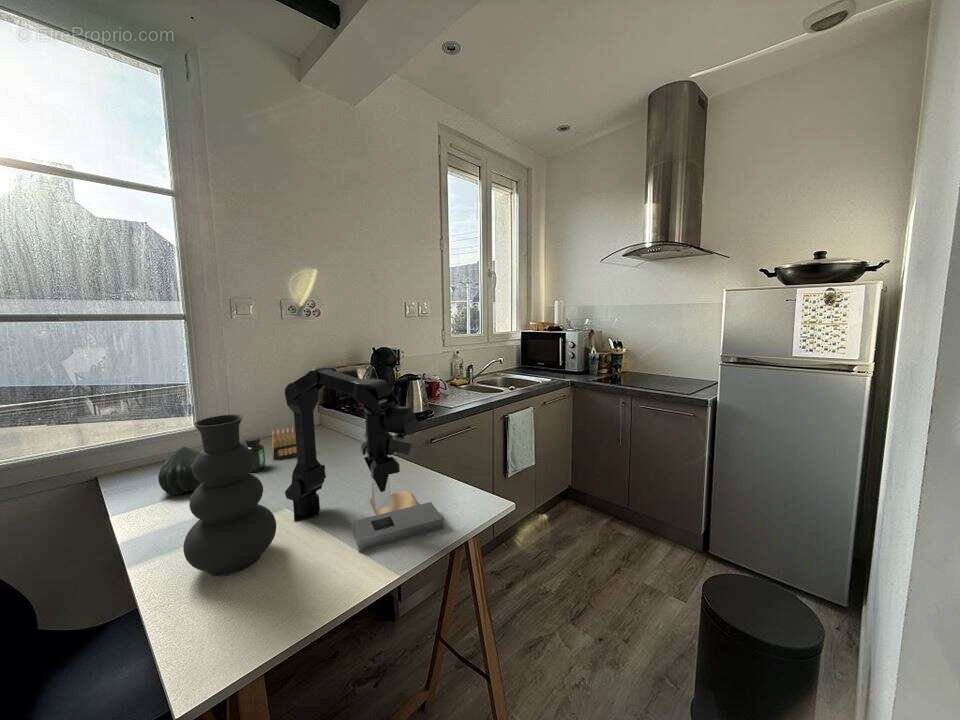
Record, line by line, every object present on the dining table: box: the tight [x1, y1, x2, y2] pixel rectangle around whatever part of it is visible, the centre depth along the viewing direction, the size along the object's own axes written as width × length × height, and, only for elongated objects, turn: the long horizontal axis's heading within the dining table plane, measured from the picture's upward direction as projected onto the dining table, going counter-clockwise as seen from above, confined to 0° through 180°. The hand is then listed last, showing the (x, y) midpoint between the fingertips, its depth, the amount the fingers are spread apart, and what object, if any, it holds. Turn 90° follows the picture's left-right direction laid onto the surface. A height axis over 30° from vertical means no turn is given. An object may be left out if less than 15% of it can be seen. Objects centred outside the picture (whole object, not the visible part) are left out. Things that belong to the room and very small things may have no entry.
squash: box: [157, 445, 201, 495], centre depth 130 cm, size 14×15×15 cm
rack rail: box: [352, 501, 444, 553], centre depth 104 cm, size 22×10×3 cm, turn 116°
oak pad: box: [369, 489, 419, 516], centre depth 116 cm, size 12×12×1 cm
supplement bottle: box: [244, 436, 267, 474], centre depth 145 cm, size 7×7×12 cm
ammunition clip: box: [271, 426, 297, 461], centre depth 157 cm, size 11×2×12 cm, turn 124°
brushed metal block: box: [370, 473, 392, 510], centre depth 101 cm, size 4×4×8 cm
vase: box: [182, 413, 277, 577], centre depth 90 cm, size 18×18×35 cm
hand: (380, 488), depth 101 cm, fingers closed on brushed metal block, 4 cm apart
